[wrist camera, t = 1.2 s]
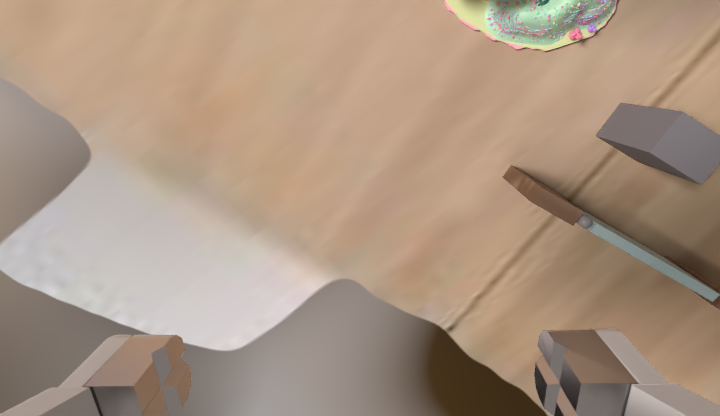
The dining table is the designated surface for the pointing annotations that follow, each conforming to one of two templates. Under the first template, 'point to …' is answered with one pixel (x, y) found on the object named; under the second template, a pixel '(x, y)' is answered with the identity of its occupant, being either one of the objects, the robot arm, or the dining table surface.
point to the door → (644, 255)
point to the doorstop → (663, 140)
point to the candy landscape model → (534, 20)
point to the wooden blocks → (573, 212)
